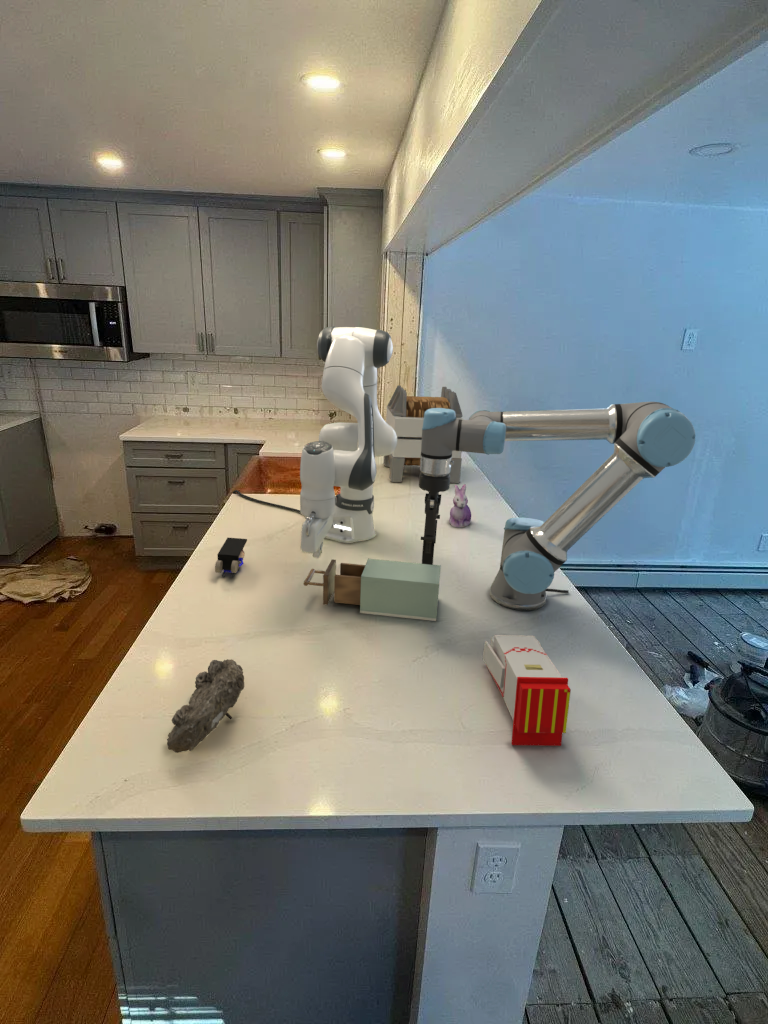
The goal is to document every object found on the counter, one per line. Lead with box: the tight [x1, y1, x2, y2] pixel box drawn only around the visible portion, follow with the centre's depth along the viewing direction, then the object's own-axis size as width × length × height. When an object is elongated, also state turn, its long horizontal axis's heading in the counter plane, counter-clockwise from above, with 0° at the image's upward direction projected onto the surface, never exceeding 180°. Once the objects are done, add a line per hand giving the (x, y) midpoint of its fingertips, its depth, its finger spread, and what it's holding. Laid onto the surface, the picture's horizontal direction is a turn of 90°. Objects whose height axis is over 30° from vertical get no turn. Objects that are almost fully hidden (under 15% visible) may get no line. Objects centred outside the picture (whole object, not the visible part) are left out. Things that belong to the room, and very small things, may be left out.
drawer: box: [302, 558, 366, 606], centre depth 151 cm, size 24×10×8 cm, turn 82°
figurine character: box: [214, 537, 248, 578], centre depth 166 cm, size 7×8×15 cm
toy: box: [482, 634, 572, 747], centre depth 115 cm, size 12×13×30 cm
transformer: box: [383, 384, 465, 484], centre depth 268 cm, size 34×33×41 cm
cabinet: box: [359, 558, 442, 622], centre depth 150 cm, size 20×11×11 cm, turn 82°
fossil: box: [166, 658, 245, 754], centre depth 106 cm, size 22×10×15 cm
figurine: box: [448, 483, 472, 528], centre depth 209 cm, size 9×10×15 cm
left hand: (317, 555), depth 150 cm, fingers closed
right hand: (428, 552), depth 145 cm, fingers open, 13 cm apart
